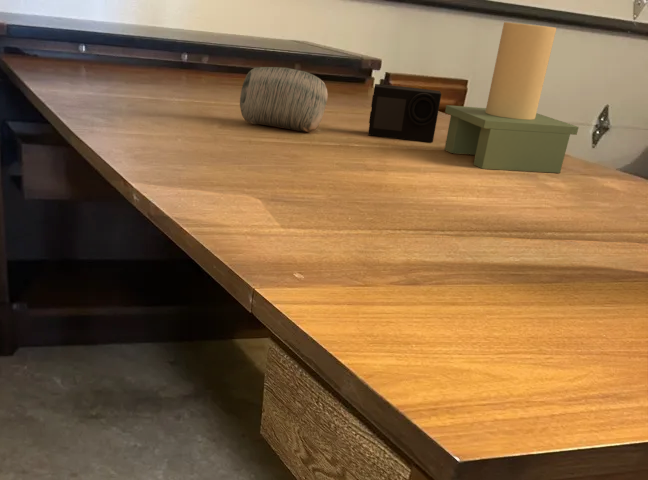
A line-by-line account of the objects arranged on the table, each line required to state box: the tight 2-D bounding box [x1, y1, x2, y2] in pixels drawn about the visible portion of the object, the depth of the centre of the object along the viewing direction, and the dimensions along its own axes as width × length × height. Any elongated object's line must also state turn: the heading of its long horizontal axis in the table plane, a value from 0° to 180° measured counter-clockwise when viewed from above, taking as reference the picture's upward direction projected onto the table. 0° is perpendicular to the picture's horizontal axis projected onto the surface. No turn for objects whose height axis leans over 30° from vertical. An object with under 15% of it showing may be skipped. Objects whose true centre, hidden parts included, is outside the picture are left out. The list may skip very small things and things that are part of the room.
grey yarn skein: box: [239, 66, 329, 133], centre depth 125 cm, size 14×10×10 cm
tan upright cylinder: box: [485, 21, 557, 120], centre depth 113 cm, size 7×7×11 cm
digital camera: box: [367, 83, 442, 143], centre depth 128 cm, size 10×5×7 cm, turn 83°
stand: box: [444, 104, 580, 174], centre depth 118 cm, size 14×14×6 cm
